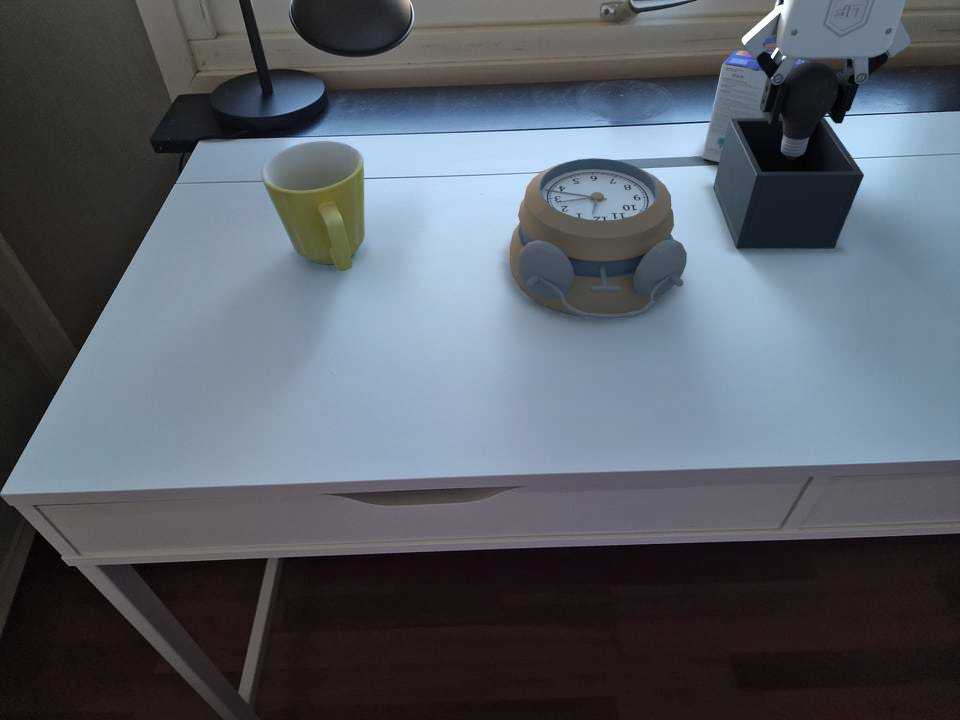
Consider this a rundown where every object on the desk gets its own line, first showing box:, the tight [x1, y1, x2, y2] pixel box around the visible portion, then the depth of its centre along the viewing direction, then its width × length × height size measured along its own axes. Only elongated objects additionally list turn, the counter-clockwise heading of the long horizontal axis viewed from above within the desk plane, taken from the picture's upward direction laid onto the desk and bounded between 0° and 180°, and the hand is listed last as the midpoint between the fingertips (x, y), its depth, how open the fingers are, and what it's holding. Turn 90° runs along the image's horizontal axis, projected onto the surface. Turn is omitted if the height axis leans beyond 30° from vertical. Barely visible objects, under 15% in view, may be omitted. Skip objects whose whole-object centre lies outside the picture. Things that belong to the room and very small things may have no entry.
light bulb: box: [780, 60, 839, 159], centre depth 70 cm, size 6×6×10 cm
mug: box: [260, 140, 366, 272], centre depth 71 cm, size 14×10×10 cm
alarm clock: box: [509, 157, 688, 320], centre depth 68 cm, size 17×9×23 cm
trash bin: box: [712, 116, 865, 249], centre depth 75 cm, size 10×12×9 cm
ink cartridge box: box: [701, 37, 808, 163], centre depth 82 cm, size 10×6×14 cm, turn 58°
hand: (801, 116), depth 70 cm, fingers closed on light bulb, 5 cm apart
